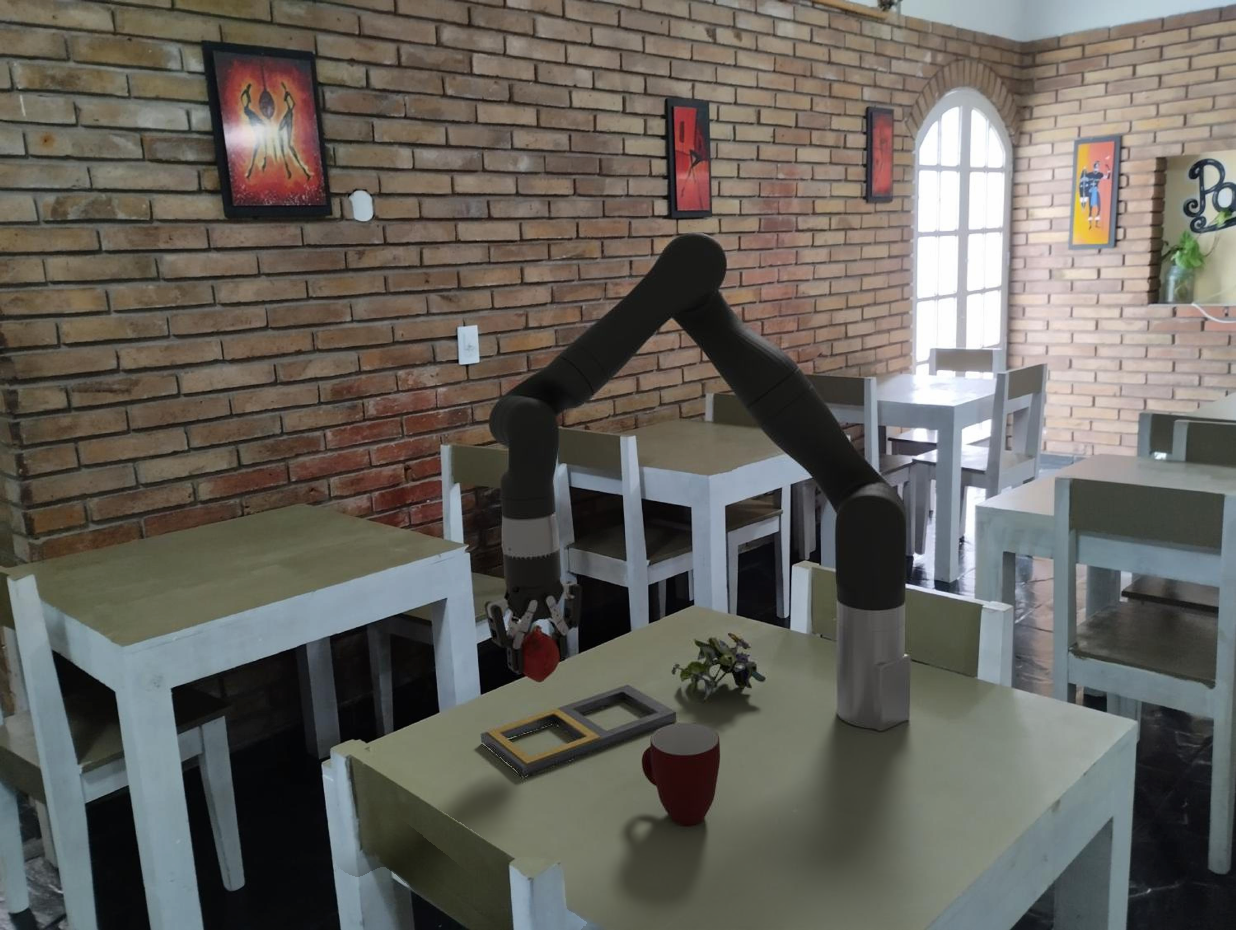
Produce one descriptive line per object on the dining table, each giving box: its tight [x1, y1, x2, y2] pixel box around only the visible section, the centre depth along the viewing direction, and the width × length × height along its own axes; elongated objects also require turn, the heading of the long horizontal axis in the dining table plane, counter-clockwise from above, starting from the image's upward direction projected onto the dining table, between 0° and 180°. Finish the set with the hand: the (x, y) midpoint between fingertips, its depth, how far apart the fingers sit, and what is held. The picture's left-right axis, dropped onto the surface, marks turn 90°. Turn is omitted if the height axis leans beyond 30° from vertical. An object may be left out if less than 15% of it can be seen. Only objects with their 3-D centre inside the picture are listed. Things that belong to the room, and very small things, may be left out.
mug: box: [641, 722, 721, 826], centre depth 114 cm, size 10×8×10 cm
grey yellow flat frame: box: [480, 684, 677, 777], centre depth 136 cm, size 12×25×2 cm, turn 125°
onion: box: [520, 624, 560, 683], centre depth 130 cm, size 6×6×8 cm
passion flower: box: [671, 632, 766, 704], centre depth 145 cm, size 11×11×12 cm
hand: (538, 665), depth 130 cm, fingers closed on onion, 6 cm apart
